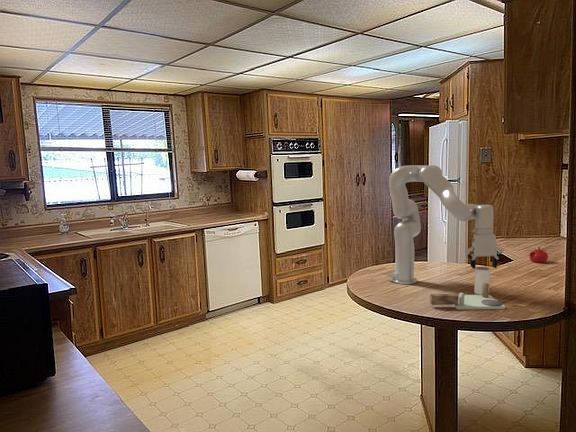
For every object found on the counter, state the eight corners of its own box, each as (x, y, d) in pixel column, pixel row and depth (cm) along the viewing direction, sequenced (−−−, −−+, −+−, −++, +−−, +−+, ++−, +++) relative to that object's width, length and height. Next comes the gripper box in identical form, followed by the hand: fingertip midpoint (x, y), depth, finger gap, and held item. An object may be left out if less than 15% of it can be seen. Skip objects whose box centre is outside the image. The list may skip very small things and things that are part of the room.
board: (456, 309, 184) (457, 292, 183) (444, 297, 200) (445, 282, 199) (505, 309, 183) (505, 292, 183) (489, 297, 199) (489, 281, 198)
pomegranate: (548, 261, 265) (549, 246, 264) (547, 264, 257) (548, 249, 256) (529, 259, 270) (530, 244, 269) (528, 262, 262) (529, 247, 261)
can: (471, 291, 208) (472, 267, 207) (484, 291, 209) (485, 266, 207) (478, 295, 202) (479, 270, 200) (491, 295, 202) (492, 269, 201)
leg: (456, 302, 188) (456, 293, 188) (458, 304, 186) (458, 295, 185) (430, 303, 189) (430, 294, 188) (431, 304, 186) (432, 295, 186)
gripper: (468, 233, 198) (468, 270, 200) (507, 232, 197) (506, 269, 199) (462, 231, 206) (462, 266, 207) (499, 229, 205) (499, 265, 207)
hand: (483, 267), depth 203 cm, fingers open, 9 cm apart
